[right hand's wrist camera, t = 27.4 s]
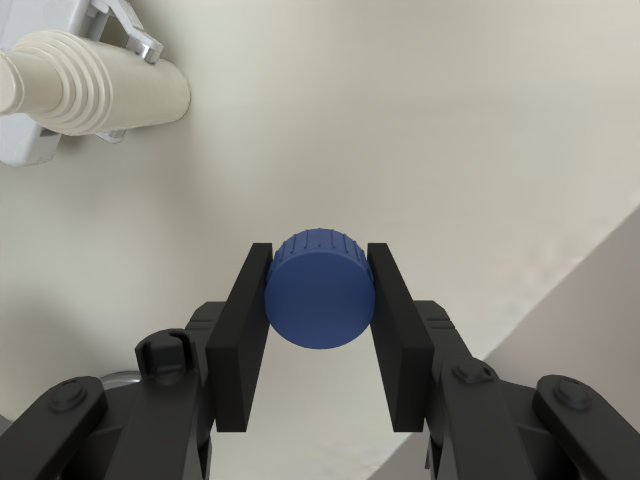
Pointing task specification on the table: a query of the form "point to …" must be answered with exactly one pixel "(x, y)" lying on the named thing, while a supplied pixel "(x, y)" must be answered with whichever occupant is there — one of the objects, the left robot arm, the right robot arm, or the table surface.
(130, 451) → the right robot arm
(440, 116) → the table surface
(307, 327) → the cap
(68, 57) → the bottle
